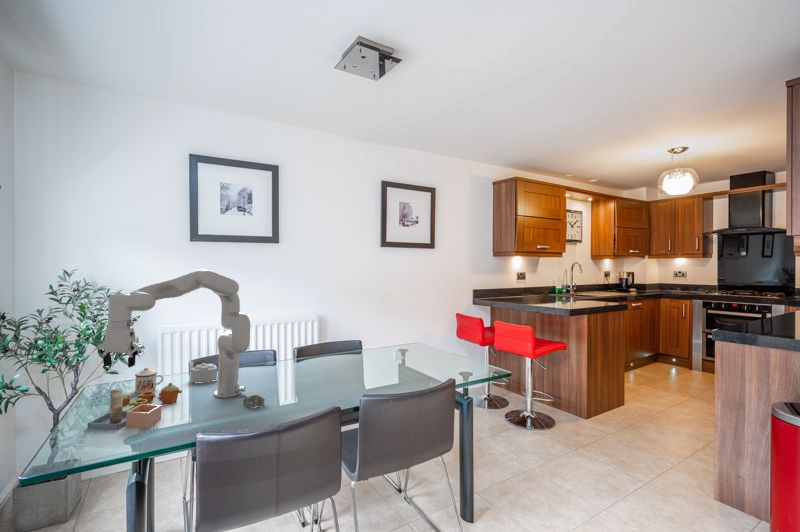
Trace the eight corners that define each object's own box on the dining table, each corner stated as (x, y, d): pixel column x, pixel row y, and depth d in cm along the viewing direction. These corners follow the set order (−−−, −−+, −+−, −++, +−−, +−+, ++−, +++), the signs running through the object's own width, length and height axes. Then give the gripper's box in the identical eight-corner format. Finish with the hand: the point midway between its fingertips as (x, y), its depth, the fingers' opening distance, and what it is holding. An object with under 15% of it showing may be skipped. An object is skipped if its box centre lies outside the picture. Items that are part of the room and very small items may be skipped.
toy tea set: (175, 393, 189) (175, 374, 189) (185, 402, 178) (186, 382, 178) (110, 406, 170) (111, 385, 170) (118, 417, 159) (119, 394, 159)
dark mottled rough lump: (241, 403, 181) (241, 395, 181) (256, 399, 186) (256, 391, 186) (250, 410, 173) (251, 401, 173) (266, 406, 178) (266, 397, 178)
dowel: (124, 420, 154) (125, 388, 154) (116, 424, 150) (118, 392, 150) (114, 419, 154) (115, 388, 154) (106, 423, 150) (108, 391, 150)
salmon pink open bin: (161, 421, 156) (161, 404, 156) (147, 430, 148) (148, 413, 148) (140, 420, 156) (141, 404, 156) (125, 429, 148) (126, 412, 148)
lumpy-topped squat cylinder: (217, 381, 209) (218, 366, 209) (190, 384, 202) (191, 368, 202) (214, 376, 218) (215, 361, 218) (189, 379, 210) (189, 363, 210)
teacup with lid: (134, 394, 184) (135, 371, 184) (134, 389, 191) (135, 366, 191) (162, 391, 190) (163, 368, 190) (162, 385, 198) (163, 363, 198)
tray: (141, 418, 159) (141, 411, 158) (118, 432, 146) (118, 424, 145) (112, 417, 158) (112, 410, 158) (87, 430, 145) (87, 423, 145)
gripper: (147, 323, 155) (146, 364, 156) (105, 321, 155) (105, 362, 156) (135, 326, 148) (134, 369, 148) (91, 325, 148) (90, 368, 148)
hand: (119, 366), depth 152 cm, fingers open, 9 cm apart
